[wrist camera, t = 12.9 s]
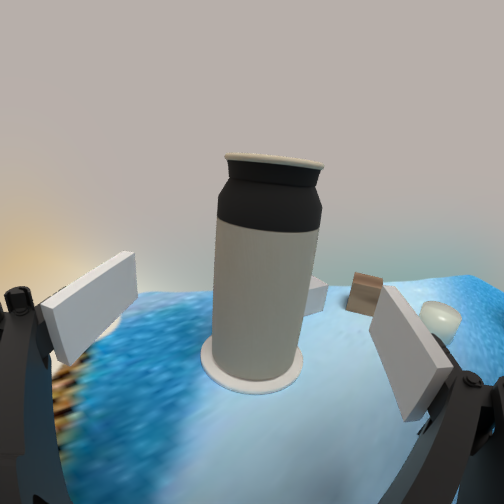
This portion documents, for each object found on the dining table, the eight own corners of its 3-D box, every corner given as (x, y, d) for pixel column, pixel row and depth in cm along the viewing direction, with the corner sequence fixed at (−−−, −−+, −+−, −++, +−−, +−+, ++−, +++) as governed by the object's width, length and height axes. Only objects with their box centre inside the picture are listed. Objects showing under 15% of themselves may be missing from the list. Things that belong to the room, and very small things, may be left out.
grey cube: (304, 298, 40) (308, 273, 38) (322, 311, 36) (328, 284, 35) (282, 304, 37) (286, 277, 36) (300, 318, 34) (306, 290, 33)
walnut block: (348, 298, 41) (354, 272, 39) (375, 304, 39) (382, 278, 38) (345, 310, 37) (352, 282, 35) (374, 317, 35) (383, 289, 34)
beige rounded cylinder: (419, 318, 35) (426, 296, 34) (453, 331, 31) (462, 310, 30) (409, 335, 31) (418, 312, 30) (449, 352, 27) (460, 328, 25)
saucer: (251, 320, 33) (251, 316, 32) (320, 360, 26) (322, 355, 26) (180, 351, 26) (180, 346, 25) (252, 412, 19) (253, 408, 19)
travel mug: (286, 390, 21) (328, 162, 15) (198, 368, 23) (204, 150, 17) (298, 339, 28) (327, 165, 23) (227, 324, 30) (239, 155, 24)
